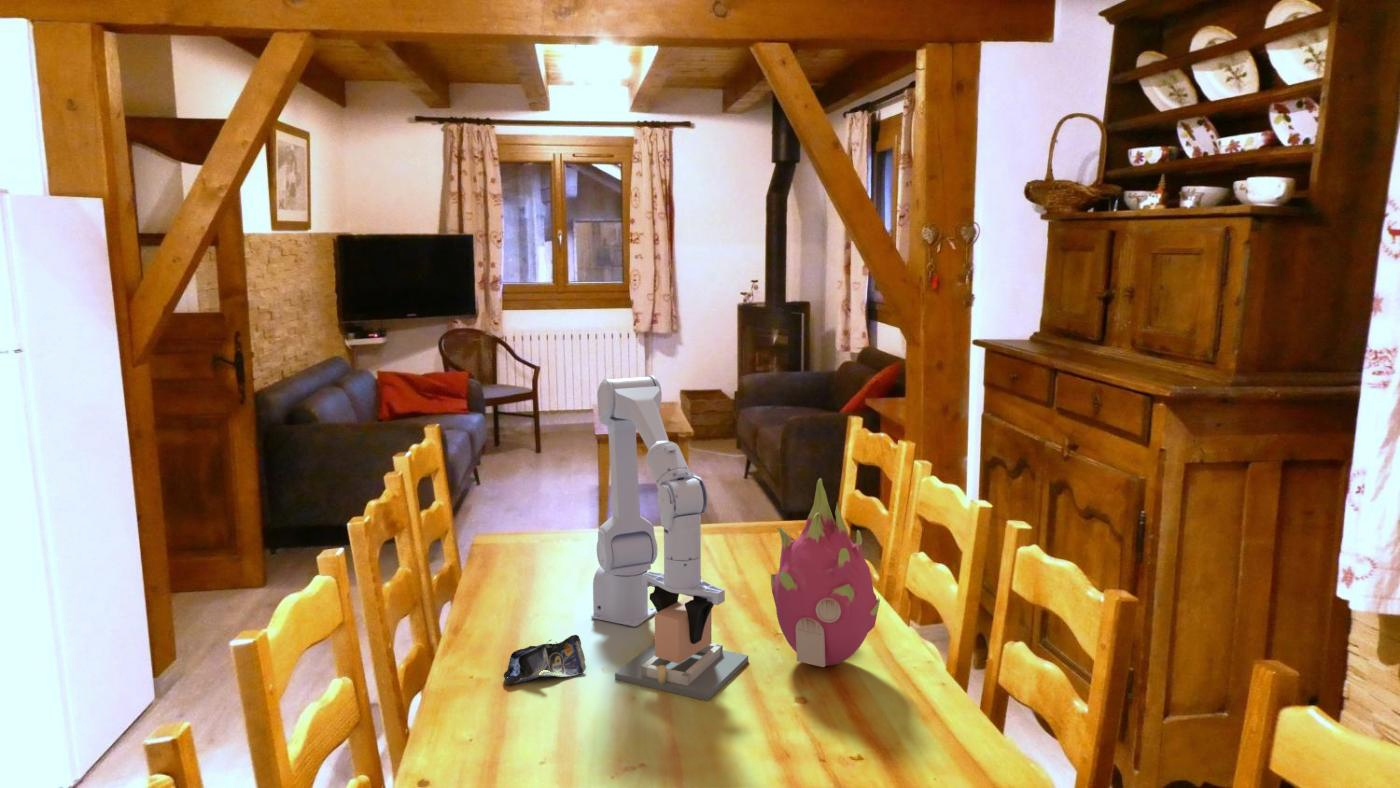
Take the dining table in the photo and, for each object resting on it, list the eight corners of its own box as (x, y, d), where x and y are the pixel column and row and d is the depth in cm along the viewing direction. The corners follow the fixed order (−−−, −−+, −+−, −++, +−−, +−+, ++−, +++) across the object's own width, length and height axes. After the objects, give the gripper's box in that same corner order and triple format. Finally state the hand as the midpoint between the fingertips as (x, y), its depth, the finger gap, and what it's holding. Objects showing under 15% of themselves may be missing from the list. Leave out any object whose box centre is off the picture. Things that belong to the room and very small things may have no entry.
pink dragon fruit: (756, 672, 152) (757, 487, 147) (781, 638, 164) (783, 467, 159) (868, 691, 145) (873, 498, 140) (885, 655, 158) (891, 477, 153)
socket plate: (615, 679, 149) (614, 658, 149) (661, 643, 163) (661, 623, 162) (707, 701, 142) (707, 678, 142) (748, 661, 156) (748, 640, 155)
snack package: (555, 699, 143) (597, 665, 154) (547, 657, 143) (589, 626, 153) (489, 697, 149) (534, 663, 160) (481, 656, 148) (526, 625, 159)
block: (678, 663, 147) (678, 620, 146) (655, 656, 150) (654, 613, 148) (711, 643, 154) (711, 602, 153) (688, 637, 157) (688, 596, 156)
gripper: (735, 556, 148) (735, 639, 151) (660, 540, 157) (661, 619, 159) (710, 569, 143) (710, 655, 145) (633, 551, 151) (634, 633, 153)
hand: (682, 637), depth 151 cm, fingers closed on block, 4 cm apart
